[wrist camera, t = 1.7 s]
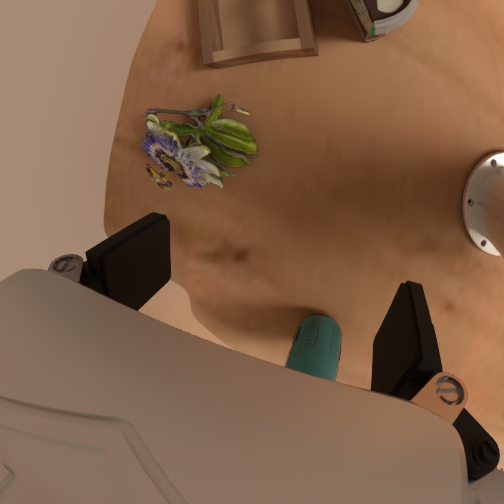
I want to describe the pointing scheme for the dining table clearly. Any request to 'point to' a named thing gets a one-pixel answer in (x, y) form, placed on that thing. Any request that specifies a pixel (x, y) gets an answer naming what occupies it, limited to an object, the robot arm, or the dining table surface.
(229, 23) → the wooden tray
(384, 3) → the food container
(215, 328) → the dining table surface
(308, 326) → the beverage bottle
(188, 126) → the passion flower
